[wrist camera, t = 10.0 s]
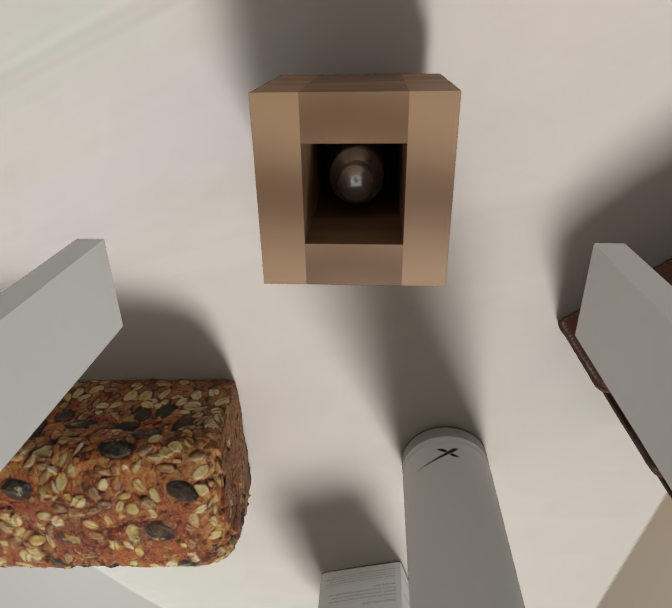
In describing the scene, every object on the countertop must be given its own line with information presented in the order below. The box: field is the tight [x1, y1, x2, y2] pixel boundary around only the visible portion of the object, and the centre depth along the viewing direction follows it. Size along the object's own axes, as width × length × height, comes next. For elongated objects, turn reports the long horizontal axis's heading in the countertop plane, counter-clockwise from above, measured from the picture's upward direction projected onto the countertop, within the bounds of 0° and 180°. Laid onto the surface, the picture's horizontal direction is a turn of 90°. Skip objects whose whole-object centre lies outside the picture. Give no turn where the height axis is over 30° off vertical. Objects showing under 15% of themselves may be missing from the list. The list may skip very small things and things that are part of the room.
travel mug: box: [402, 427, 525, 608], centre depth 32 cm, size 6×7×20 cm
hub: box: [321, 143, 399, 204], centre depth 28 cm, size 8×8×7 cm
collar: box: [249, 74, 461, 286], centre depth 26 cm, size 8×8×8 cm
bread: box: [0, 379, 251, 569], centre depth 38 cm, size 19×11×10 cm, turn 93°
